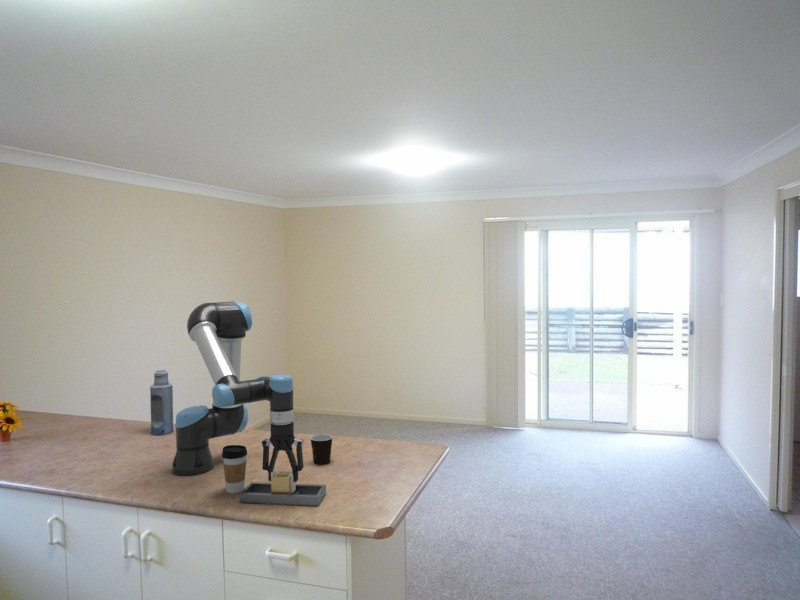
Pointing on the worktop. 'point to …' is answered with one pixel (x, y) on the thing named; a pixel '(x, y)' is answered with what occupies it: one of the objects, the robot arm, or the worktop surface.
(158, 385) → the bottle
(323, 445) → the coffee mug
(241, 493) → the grey divided tray
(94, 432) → the worktop surface
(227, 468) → the coffee cup
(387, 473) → the worktop surface
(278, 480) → the recessed panel cube
